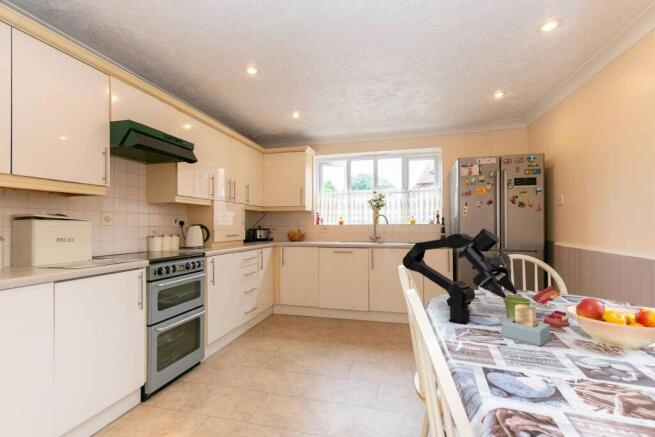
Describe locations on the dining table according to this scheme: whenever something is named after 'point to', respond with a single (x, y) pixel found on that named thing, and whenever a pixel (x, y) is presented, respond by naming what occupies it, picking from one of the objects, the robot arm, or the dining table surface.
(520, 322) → the upright wooden block
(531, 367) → the dining table surface
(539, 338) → the block
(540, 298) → the anatomical model
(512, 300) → the plant pot
